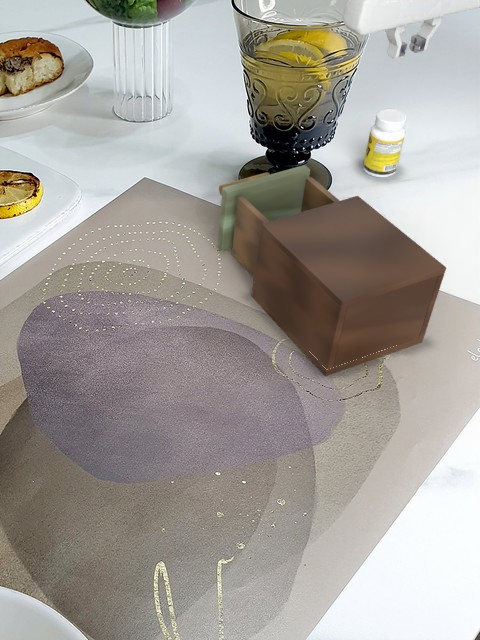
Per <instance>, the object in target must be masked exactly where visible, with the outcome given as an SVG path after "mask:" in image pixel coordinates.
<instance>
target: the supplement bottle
mask: <svg viewBox="0 0 480 640" xmlns="http://www.w3.org/2000/svg"><path fill="white" fill-rule="evenodd" d="M406 122H407V115H406V113H404V112H403V111H401V110H399V109H395V108H383V109H381V110H379V111H377V113H376V116H375V119H374V124H373V125H372V126H371V128H370V131H369V136H368V140H367V145H366V150H365V155H364V159H363V164H362V169H363V172H365V174H368V175H369V176H371V177H376V178H388V177H392V176H393V175H394V174H396V172H397V170H398V165H399V161H400V159H401V153H402V150H403V149H402V148H403V145H404V141H405V137H406V129H405V126H406Z"/></svg>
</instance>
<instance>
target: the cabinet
mask: <svg viewBox="0 0 480 640" xmlns="http://www.w3.org/2000/svg"><path fill="white" fill-rule="evenodd" d="M446 270H447V266H445V264H443V263H441V261H439V260H438V259H437V258H436V257H434V256H433V255H432V254H431V253H429V252H428V251H427V250H426V249H424V248H423V247H422V246H421V245H419V244H418V243H417V242H416V241H415V240H413V239H412V238H411V237H409V236H408V235H407V234H406V233H405V232H404V231H402V230H401V229H400V228H398V227H397V226H396V225H394V223H392V222H391V221H390V220H388V218H386V217H385V216H383V214H381V213H380V212H379V211H377V210H376V209H375V208H374V207H373V206H371V205H370V204H369V203H367V201H366V200H364V199H362V198H361V197H360V196H359V195H355V196H351V197H348V198H345V199H341V200H340V201H338V202H334V203H331V204H327V205H324V206H321V207H317V208H314V209H310V210H307V211H304V212H300V213H297V214H293V215H290V216H287V217H283V218H280V219H276V220H273V221H269V222H266V223H263V224H261V231H260V238H259V246H258V254H257V261H256V269H255V277H253V285H252V293H251V297H252V299H253V300H254V301H255V302H256V303H257V304H258V305H259V306H260V307H261V309H263V311H264V312H265V313H266V314H267V315H268V316H269V317H270V318H271V319H272V320H273V321H274V323H275V324H277V325H278V327H279V328H280V329H281V330H282V331H283V332H284V334H286V336H287V337H288V338H289V339H290V340H291V341H292V342H293V343H294V344H295V345H296V346H297V347H298V349H299V350H300V351H301V352H302V353H303V354H304V355H305V356H306V357H307V359H309V361H310V362H311V363H312V364H313V365H314V366H315V367H316V368H317V369H318V370H319V371H320V372H321V373H322V374H323V376H324V377H328V376H330V375H334V374H335V373H338V372H342V371H345V370H347V369H350V368H353V367H356V366H359V365H362V364H365V363H367V362H371V361H373V360H376V359H378V358H382V357H384V356H387V355H390V354H392V353H396V352H398V351H401V350H405V349H407V348H410V347H412V346H415V345H418V344H422V343H423V341H424V337H425V334H426V331H427V329H428V325H429V323H430V321H431V320H430V319H431V316H432V313H433V310H434V307H435V304H436V301H437V299H438V295H439V292H440V289H441V285H442V282H443V279H444V276H445V274H446V272H447V271H446ZM396 345H397V346H396ZM393 346H394V347H393ZM390 347H391V348H390ZM387 348H388V349H387ZM384 349H386V350H384ZM381 350H383V351H381ZM309 351H310V352H311V353H312V354H313V355H314V356H315V357H316V358H317V359H318V360H317V359H316V358H315V357H314V356H313V355H312V354H311V353H310V352H309ZM378 351H380V352H378ZM376 352H377V353H376ZM373 353H374V354H373ZM370 354H371V355H370ZM367 355H368V356H367ZM364 356H366V357H364ZM362 357H363V358H362ZM356 359H357V360H356ZM353 360H354V361H353ZM350 361H351V362H350ZM347 362H348V363H347ZM344 363H346V364H344ZM341 364H343V365H341ZM322 365H323V366H324V367H325V368H326V369H328V370H326V369H325V368H324V367H323V366H322ZM339 365H340V366H339ZM336 366H337V367H336ZM333 367H334V368H333ZM330 368H331V369H330Z"/></svg>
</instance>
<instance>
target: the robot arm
mask: <svg viewBox="0 0 480 640" xmlns="http://www.w3.org/2000/svg"><path fill="white" fill-rule="evenodd" d="M479 8H480V0H346V2H345V6H344V11H343V15H342V21H343V24H344V26H345V27H346V28H347V29H348V30H350V31H351V32H352V33H355V34H356V35H358V36H367V35H370V34H374V33H378V32H382V31H384V32H385V35H386V37H387V41H388V46H387V51H386V52H387V56H388V57H390V58H391V59H395V60H396V59H399V58H402V57H405V56H406V51H407V47H408V45H409V47H408V48H409V51H411V52H413V53H414V54H418V53H422V52H426V51H428V46H429V42H430V39H431V38H432V37H433V36H434V34H435V33H436V31H437V30H438V29H439V27H440V26H441V25H442V22H443V17H446V16H451V15H454V14H458V13H462V12H467V11H471V10H475V9H479ZM420 22H423V23H422V24H421V25H420V27H419V30H418V31H417V32H416V34H413V35H411V37H410V43H409V44H408V43H407V42H405V41H402V36H401V34H403V33H405V30H406V26H408V25H412V24H416V23H420Z"/></svg>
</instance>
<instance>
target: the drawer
mask: <svg viewBox="0 0 480 640" xmlns="http://www.w3.org/2000/svg"><path fill="white" fill-rule="evenodd" d="M310 175H311V168H310V167H308V166H307V165H306V164H303V165H300V166H296V167H293V168H289V169H285V170H282V171H278V172H275V173H274V172H273V173H271V174H270V172H268V171H266V172H264V173H260V174H255V175H252V176H248V177H245V178H241V179H237V180H233V181H230V182H226V183H222V184H220V185H219V187H218V192H219V195H220V196H221V200H220V211H219V221H218V232H217V233H218V234H217V244H216V245H217V246H216V248H218V250H219V251H220V252H225V251H228V250H231V255H232V256H233V257H234V258H235V259H236V260H237V262H239V263H240V264H241V265H242V266H243V268H244V269H245V270H246V271H247V272H248V273H249V274H250V275H251V276H252V277H253V278H254V277H255V269H256V261H257V254H258V246H259V238H260V231H261V224H263V223H266V222H269V221H273V220H276V219H280V218H283V217H287V216H290V215H293V214H297V213H300V212H304V211H307V210H310V209H314V208H317V207H321V206H324V205H327V204H331V203H334V202H338V201H341V200H340V199H339V198H338V197H336V196H335V195H334V194H333V193H331V192H330V191H329V190H328V189H327V188H326V187H324V186H323V185H322V184H321V183H320V182H319V181H317V180H316V179H315V178H314V177H312V176H310Z"/></svg>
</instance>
